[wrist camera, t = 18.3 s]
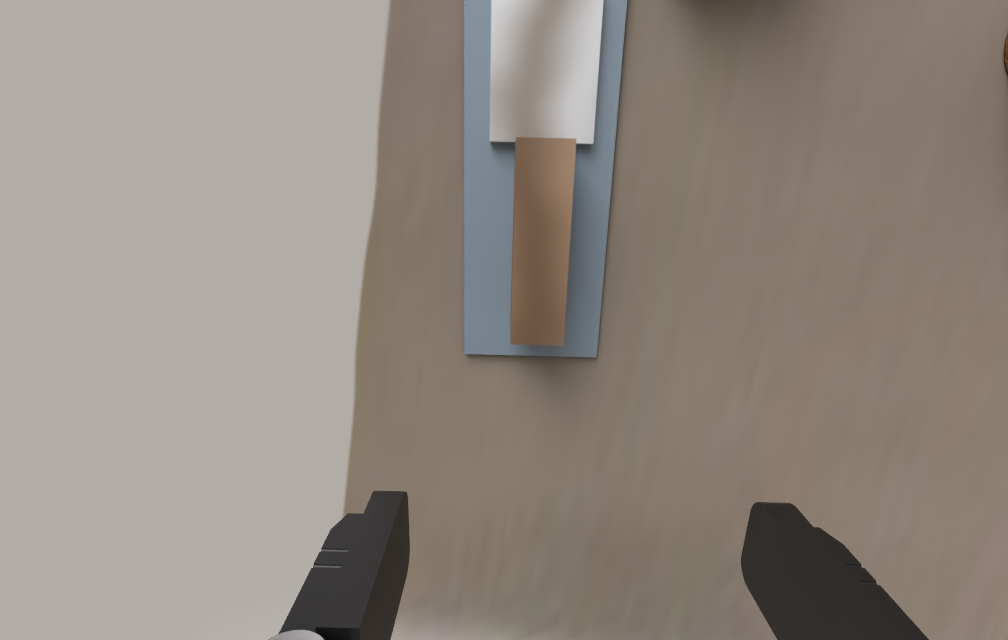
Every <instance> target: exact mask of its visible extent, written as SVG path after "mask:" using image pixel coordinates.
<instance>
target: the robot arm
mask: <svg viewBox="0 0 1008 640" xmlns="http://www.w3.org/2000/svg"><path fill="white" fill-rule="evenodd" d="M409 553H410V541H409V514H408V496H407V492H401V491H374V492H373V493H372V495H371V498H370V500H369V502H368V505H367V507H366V509H365V512H364V514H351V513H348V514H347V515H346V516H345V517H344V518H343V519H342V520H340V521H339V522H338V523H337V524H336V525H335V526H334V527H333V528H332V529H331V530H330V532H329V534H328V536H327V538H326V540H325V542H324V544H323V546H322V550H321V552H319V554H318V556H317V558H316V560H315V562H314V566H313V568H311V570H310V572H309V574H308V576H307V578H306V580H305V582H304V584H303V586H302V588H301V590H300V592H299V594H298V596H297V598H296V600H295V603H294V605H293V607H292V608H291V611H290V613H289V615H288V616H287V619H286V620H285V623H284V625H283V627H282V629H281V631H280V632H279V634H278V635H276V636H274V637H272V638H270V639H268V640H390V639H391V635H392V631H393V627H394V623H395V619H396V615H397V612H398V608H399V604H400V600H401V596H402V592H403V588H404V584H405V580H406V576H407V571H408V564H409ZM741 567H742V573H743V577H744V580H745V583H746V585H747V587H748V589H749V591H750V593H751V594H752V596H753V598H754V600H755V601H756V603H757V605H758V607H759V608H760V610H761V612H762V614H763V615H764V617H765V619H766V620H767V622H768V624H769V626H770V627H771V629H772V631H773V633H774V634H775V636H776V638H777V640H929V639H928V638H927V637H926V636H925V635H924V634H923V633H922V632H921V630H920V629H919V628H918V627H917V626H916V625H915V624H914V623H913V622H912V620H911V619H910V618H909V617H908V616H907V615H906V614H905V613H904V612H903V610H902V609H901V608H900V607H899V606H898V605H897V604H896V603H895V601H894V600H893V599H892V598H891V597H890V596H889V595H888V594H887V593H886V591H885V590H884V589H883V588H882V587H881V586H880V585H877V584H876V580H875V579H874V578H873V577H872V576H871V575H870V574H869V573H868V571H867V570H866V569H865V568H862V567H861V564H860V563H859V561H858V560H857V559H856V558H855V557H854V556H853V555H852V554H851V552H850V551H849V550H848V549H847V548H846V547H845V546H844V545H843V544H842V543H840V542H839V541H838V540H836V539H835V538H833V537H832V536H830V535H829V534H828V533H826V532H825V531H823V530H822V529H820V528H819V527H813V526H812V525H811V524H810V523H809V522H808V520H807V519H806V518H805V517H804V516H803V515H802V513H801V512H800V511H799V510H798V509H797V508H796V507H795V506H794V505H793V504H791V503H766V502H756V503H755V504H753V506H752V508H751V511H750V516H749V521H748V526H747V531H746V536H745V541H744V546H743V551H742V556H741Z"/></svg>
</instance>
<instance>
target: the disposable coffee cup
mask: <svg viewBox="0 0 1008 640" xmlns="http://www.w3.org/2000/svg"><path fill="white" fill-rule="evenodd" d="M1005 64H1006V68H1007V72H1008V36H1007V39H1006V46H1005Z"/></svg>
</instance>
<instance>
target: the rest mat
mask: <svg viewBox="0 0 1008 640" xmlns="http://www.w3.org/2000/svg"><path fill="white" fill-rule="evenodd" d="M626 9H627V0H604V2H603V16H602V29H601V43H600V57H599V71H598V85H597V99H596V113H595V127H594V141H593V144H591V145H583V144H576V154H575V170H574V186H573V202H572V218H571V234H570V250H569V266H568V282H567V299H566V315H565V331H564V346H550V345H510V310H511V275H512V239H513V204H514V168H515V143H500V142H490V68H491V0H464V354H483V355H521V356H558V357H596V358H597V348H598V336H599V325H600V313H601V301H602V290H603V278H604V266H605V255H606V243H607V231H608V220H609V208H610V196H611V184H612V173H613V161H614V149H615V138H616V126H617V114H618V103H619V91H620V79H621V68H622V56H623V44H624V33H625V21H626Z"/></svg>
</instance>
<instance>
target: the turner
mask: <svg viewBox="0 0 1008 640" xmlns="http://www.w3.org/2000/svg"><path fill="white" fill-rule="evenodd" d="M603 2H604V0H491V68H490V142H500V143H515V168H514V204H513V239H512V275H511V310H510V345H550V346H564V331H565V315H566V299H567V282H568V266H569V250H570V234H571V218H572V202H573V186H574V170H575V154H576V144H583V145H591V144H593V141H594V127H595V113H596V99H597V85H598V71H599V57H600V43H601V29H602V16H603Z"/></svg>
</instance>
